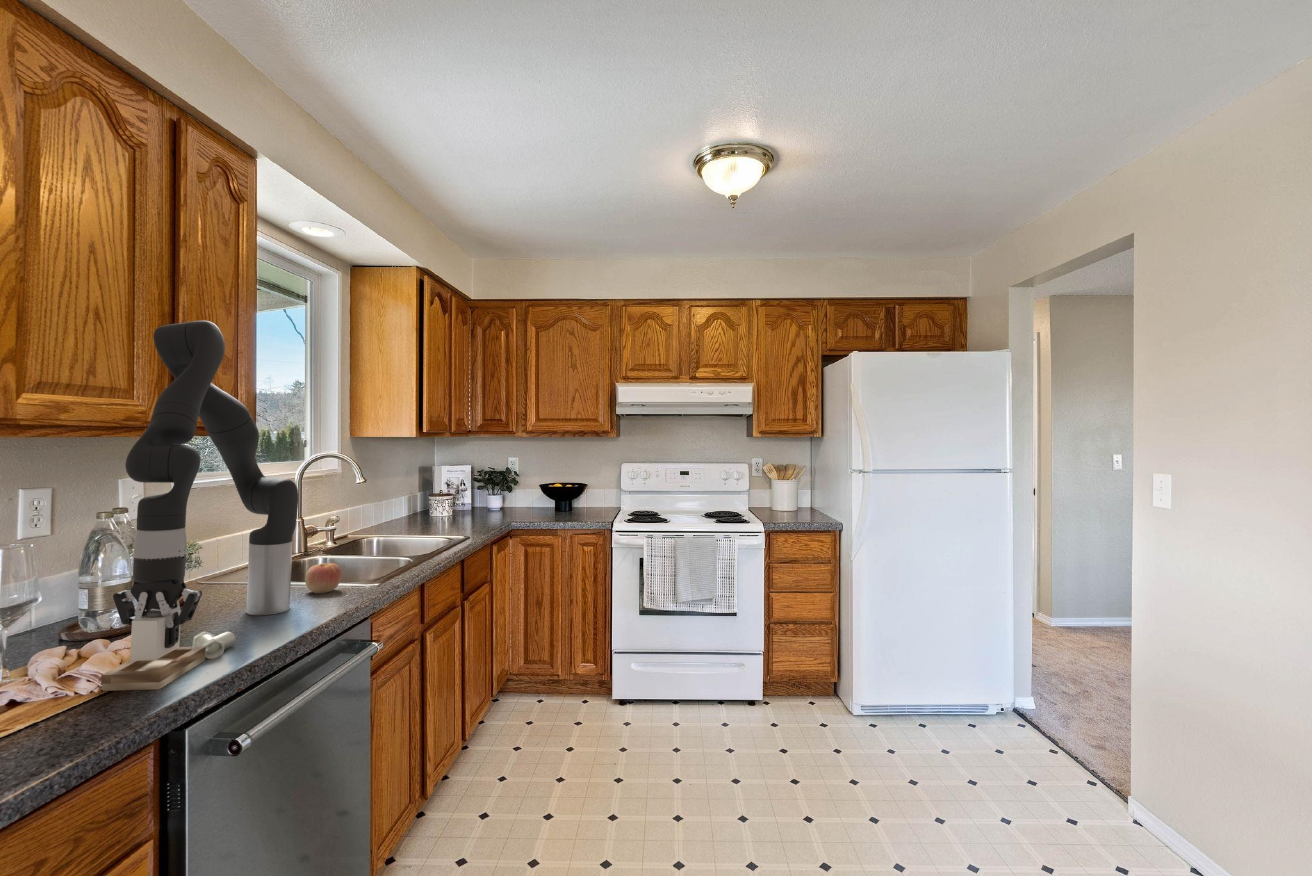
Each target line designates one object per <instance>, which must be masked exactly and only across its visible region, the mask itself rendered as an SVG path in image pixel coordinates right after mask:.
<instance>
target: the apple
mask: <svg viewBox="0 0 1312 876" xmlns="http://www.w3.org/2000/svg"><path fill="white" fill-rule="evenodd" d="M305 573H306V574H305V586H306V588H307V589H308V590H309V591H310V592H311V593H314V594H326V593H329V592H332V591H334V590H335V589H336V588H337V587H338V586H339V584H340V582H341V579H342V570H341V567H340V566H339V565H338V564H336V563H335V562H334V563H333V562H323V563H317V564H314V565H312V566H310V568H308V570H307V571H306V572H305Z"/></svg>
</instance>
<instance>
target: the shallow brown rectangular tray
mask: <svg viewBox="0 0 1312 876" xmlns="http://www.w3.org/2000/svg"><path fill="white" fill-rule="evenodd" d="M205 648H206V647H192V646H179V648H177V649H175V650H173V651H172V652H170V653H168V654H166V655H164V656H162V657H161V658H159V659H157V660H146V661H130V659H129V660H127V661H126V662H123V663H121V664H119V665H118V666H115V667H114V668H112V669H110V670H108V671H106V672H105V673H102V674H101V675H100V690H101V689H102V690H103V691H104V692H105V691H106V692H107V691H143V690H146V691H147V690H160V689H162V688H163V687H165V686H167V685H168V684H170V683H171V682H174V681H175V680H177V679H178V678H179V677H182V676H183V675H184V674H186V673H187V672H189V671H190V670H192V669H193V668H195V667H197V666H198V665H200V664H201V663H203V662H205V661H206V657H205ZM101 685H102V686H101ZM101 687H102V688H101ZM103 691H102V692H103Z"/></svg>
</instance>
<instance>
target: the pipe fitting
mask: <svg viewBox="0 0 1312 876" xmlns="http://www.w3.org/2000/svg"><path fill="white" fill-rule="evenodd" d="M236 638H237V637H236V636H235V634H234V633H233V632H230V631H225V632H222V633H220V634H217V635H214V634H213V633H210V632H208V631H205V630H204V631H202V632H199V633H198V634H196V635H194V636H193V640H192V646H191V647H206V648H205V659H206V658H207V659H209V660H214V659H217V658H219V657H220V656H222V655H224V651H225V650H228V649H229V648H231V647H233V646H234V645H235V644H236Z"/></svg>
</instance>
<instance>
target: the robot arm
mask: <svg viewBox="0 0 1312 876" xmlns="http://www.w3.org/2000/svg"><path fill="white" fill-rule="evenodd" d="M221 331H222V330H220V328H219V327H218V326H217V325H216V324H215V323H214V322H212V321H210V320H194V321H187V322H185V321H184V322H179V323H172V324H166V325H160V326H159V327H158V326H157V328H156V329H154V332H153V334H152V335H153V337H152V338H153V344H154V347H155V350H156V352H157V354H158V355H159V357H160V360H161V361H162V362H163V364H164V365H165V366H166V369H167V370H168V371H169V372H170V374H171V375H172V377H173V379H174V380H172V382H171V383H170V384H169V385H167V387H165V388H164V390H163V391H162V393H160V395H159V396H158V398H157V400H156V402H155V404H154V407H153V411H152V415H151V418H150V421H149V425H148V426H147V428H146V429H145V431H144V432H143V433H142V435H141V436H140V437H139V439H138V440H137V441H136V442H135V443H134V445H133V446H132V448H131V449H130V450H129V452H128V454H127V456H126V458H125V463H124V464H125V472H126V473H127V475H128V476H129V478H130V479H132V480H133V481H135V482H137V483H145V484H146V483H151V484H152V483H154V484H155V483H158V484H159V483H160V484H161V483H162V484H164V483H166V484H167V483H168V484H169V483H173V486H172V487H171V490H169V491H168V492H165V493H163V494H154V495H150V496H145V497H143V498H140V500H139V501H138V504H137V511H136V512H137V513H136V514H137V515H136V532H135V537H134V540H133V541H134V543H133V555H132V557H133V560H132V561H133V563H132V580H133V583H132V585H131V588H130V589H124V590H122V591H118V592H116V593H113V595H112V598H113V600H114V601H113V602H114V604H115V607H116V611H117V614H118V616H119V619H120V621H121V624H122V625H124V626H125V625H128V626H131V627H132V621H133V620H136V619H138V618H140V617H144V616H145V615H146V612H147V611H150V610H154V609H158V610H161V614H162V616H163V617H165V623H166V626H167V628H165V648H171V647H173V646H174V645H175V643H177V642H178V640H179V626H180V627H181V625H184V624H185V623H188V622H189V621H191V620H192V619H193V617H194V615H195V612H196V610H197V607H198V605H199V602H200V601H201V597H202V596H203V591H202V590H200V589H197V590H193V589H191V588H187V585H186V583H185V576H186V562H187V561H186V560H187V550H188V546H187V542H188V541H187V533H186V532H187V531H186V522H187V521H186V520H187V505H188V499H189V496H190V493H191V489H192V487H193V483H194V482H195V480H196V477H197V475H198V473H199V469H200V467H201V457H200V453H199V452H198V450H197V449H196V448H195V447H193V446H191V445H188V444H187V443H190V441H192V439H193V438H194V436H195V435H196V431H197V426H198V420H199V419H200V421H201V422H202V425H203V427H204V429H205V431H206V433H207V434H208V436H209V437H210V440H211V442H212V443H213V445H214V447H215V448H216V449H217V450H218V452H219V454H220V456H221V458H222V461H223V462H224V464H225V465H226V468H227V469H228V471H229V474H230V475H231V478H232V480H233V483H234V485H235V488H236V491H237V493H238V495H239V498H240V500H241V502H242V504H243V505H244V507H245V508H246V510H248V512H250V513H252V514H255V515H263V516H264V515H265V516H266V515H267V519H266V523H265V525H263V526H262V527H259V528H256V529H253V530H252V531H250V533H249V535H248V536H249V537H248V559H247V561H248V563H247V584H246V585H247V588H246V592H247V593H246V614H248V615H250V616H267V615H268V616H269V615H277V614H280V613H284V612H287V611H289V610H290V609H291V608H290V606H291V589H292V587H291V584H292V583H291V582H292V578H291V577H292V563H293V562H292V559H293V558H292V557H293V536H294V532H295V530H296V525H297V518H298V507H299V489H298V486H297V484H296V483H295V482H294V481H293V480H291V479H288V478H280V477H276V478H275V477H266V476H265V475H264V474H263V472H262V470H261V469H260V467H259V465H258V463H257V460H256V456H257V450H258V447H259V446H258V445H259V441H260V433H259V432H260V431H259V429H258V427H257V424H256V422H255V421H254V419H253V417H252V415H251V413H250V411H249V409H248V408H247V406H245V404H244V403H242V402H241V401H240V400H238V399H237V398H235V397H234V396H233V395H231V394H229V393H228V392H226V391H224V390H222V389H221V388H219V387H218V386H216V385H215V384H214V383H212V382H213V381H214V378H215V377H216V374H217V372H218V370H219V368H220V366H221V364H222V362H223V359H224V356H225V351H226V344H225V343H226V341H225V338H224V335H223V333H222V332H221ZM182 596H183V598H182V600H183V602H184V604H183V606H182V608H181V606H180V602H179V600H180V599H181V597H182ZM134 599H135V600H136V602H137V606H136V607H135V603H134V602H133V601H134ZM180 610H181V613H180V612H179V611H180Z"/></svg>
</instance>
